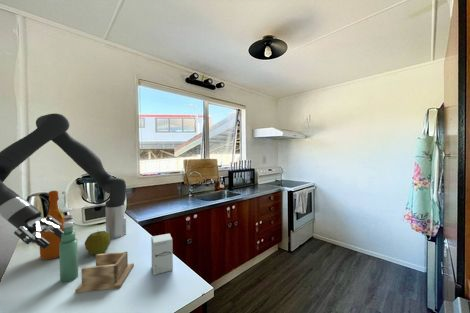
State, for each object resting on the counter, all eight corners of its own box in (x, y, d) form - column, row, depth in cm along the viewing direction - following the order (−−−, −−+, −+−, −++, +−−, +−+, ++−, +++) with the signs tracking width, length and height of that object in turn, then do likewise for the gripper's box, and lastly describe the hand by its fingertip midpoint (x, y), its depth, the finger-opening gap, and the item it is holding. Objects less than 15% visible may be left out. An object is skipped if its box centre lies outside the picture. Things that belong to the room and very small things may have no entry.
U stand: (133, 265, 83) (133, 249, 83) (120, 287, 69) (120, 267, 69) (96, 269, 81) (96, 252, 81) (75, 292, 67) (74, 272, 67)
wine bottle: (51, 261, 87) (50, 193, 87) (33, 259, 89) (32, 192, 89) (73, 251, 97) (72, 189, 97) (57, 249, 99) (56, 188, 98)
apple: (107, 246, 102) (107, 224, 102) (112, 252, 95) (112, 229, 95) (83, 253, 95) (83, 230, 94) (87, 260, 88) (86, 235, 88)
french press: (65, 236, 115) (65, 192, 115) (45, 236, 115) (45, 193, 115) (79, 229, 125) (78, 189, 125) (60, 230, 125) (60, 190, 125)
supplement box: (153, 276, 76) (152, 242, 76) (151, 266, 82) (151, 236, 82) (173, 270, 79) (172, 238, 79) (170, 261, 86) (169, 232, 86)
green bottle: (74, 272, 79) (74, 219, 78) (80, 277, 76) (79, 221, 76) (57, 279, 74) (56, 223, 74) (62, 284, 71) (61, 226, 71)
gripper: (9, 209, 66) (49, 241, 68) (43, 200, 80) (76, 227, 82) (-10, 227, 65) (32, 259, 67) (28, 214, 79) (61, 241, 81)
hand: (56, 241), depth 74 cm, fingers open, 8 cm apart
